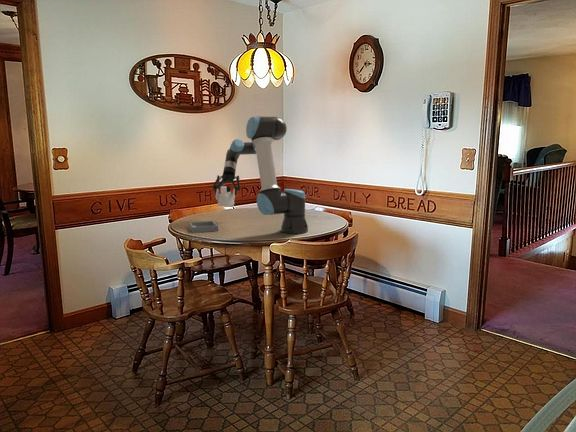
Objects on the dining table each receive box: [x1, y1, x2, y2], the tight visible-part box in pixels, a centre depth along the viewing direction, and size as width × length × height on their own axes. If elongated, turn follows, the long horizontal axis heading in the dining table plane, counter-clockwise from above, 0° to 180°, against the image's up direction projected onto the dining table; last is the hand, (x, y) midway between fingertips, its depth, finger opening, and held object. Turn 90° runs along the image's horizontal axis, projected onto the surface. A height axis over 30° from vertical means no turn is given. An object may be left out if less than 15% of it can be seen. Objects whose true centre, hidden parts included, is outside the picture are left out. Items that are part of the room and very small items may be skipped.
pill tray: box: [188, 220, 219, 234], centre depth 255 cm, size 14×14×3 cm
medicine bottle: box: [217, 185, 235, 208], centre depth 273 cm, size 7×7×12 cm
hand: (224, 198), depth 271 cm, fingers closed on medicine bottle, 10 cm apart
